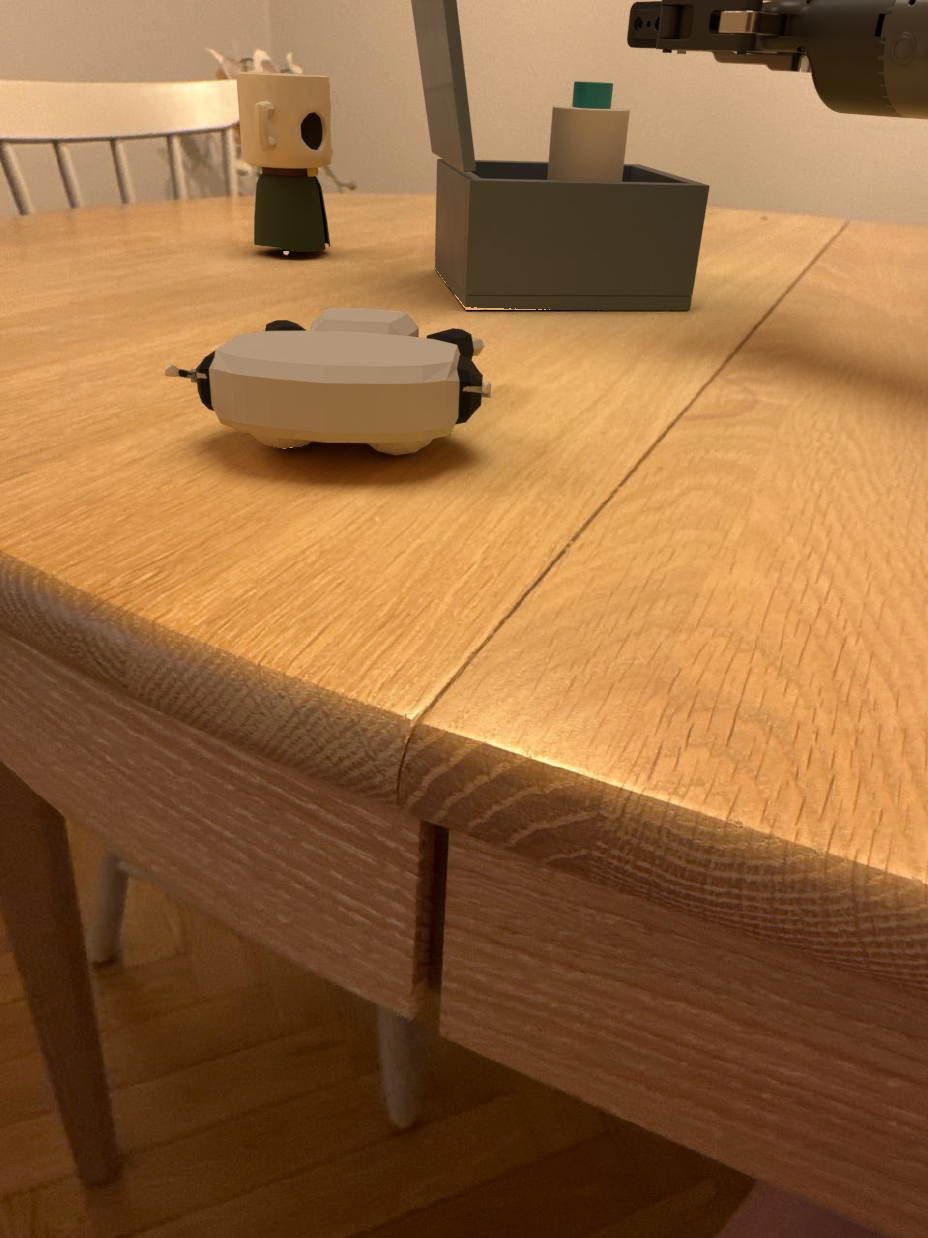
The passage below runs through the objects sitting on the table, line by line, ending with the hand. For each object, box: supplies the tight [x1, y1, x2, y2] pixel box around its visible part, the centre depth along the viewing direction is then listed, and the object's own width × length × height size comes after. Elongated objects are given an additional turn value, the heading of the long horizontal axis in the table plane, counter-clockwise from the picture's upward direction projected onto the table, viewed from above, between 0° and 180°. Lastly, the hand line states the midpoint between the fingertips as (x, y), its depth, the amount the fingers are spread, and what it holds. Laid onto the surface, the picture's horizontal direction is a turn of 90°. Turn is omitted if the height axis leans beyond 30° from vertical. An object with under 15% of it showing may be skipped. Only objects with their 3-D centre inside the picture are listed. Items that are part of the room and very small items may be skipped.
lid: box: [410, 0, 476, 172], centre depth 60 cm, size 17×14×1 cm
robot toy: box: [164, 307, 492, 456], centre depth 42 cm, size 12×4×15 cm
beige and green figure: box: [235, 71, 334, 253], centre depth 75 cm, size 11×7×13 cm, turn 168°
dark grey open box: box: [434, 158, 710, 312], centre depth 68 cm, size 16×14×8 cm
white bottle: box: [547, 80, 631, 182], centre depth 66 cm, size 5×5×12 cm
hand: (683, 29), depth 56 cm, fingers open, 8 cm apart
